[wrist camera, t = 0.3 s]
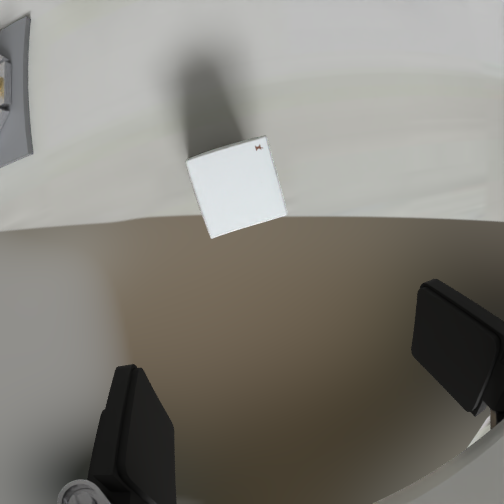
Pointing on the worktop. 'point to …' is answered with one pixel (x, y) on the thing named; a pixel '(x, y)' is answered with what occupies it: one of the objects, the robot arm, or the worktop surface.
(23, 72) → the base plate
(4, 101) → the ring nut
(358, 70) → the worktop surface
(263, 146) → the supplement box
